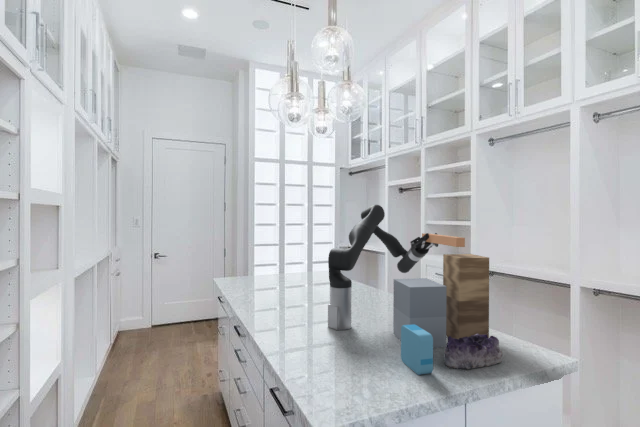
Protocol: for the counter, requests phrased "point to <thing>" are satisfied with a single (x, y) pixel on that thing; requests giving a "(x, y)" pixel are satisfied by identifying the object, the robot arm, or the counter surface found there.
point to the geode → (472, 352)
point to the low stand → (420, 307)
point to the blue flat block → (417, 349)
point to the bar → (446, 240)
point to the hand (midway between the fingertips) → (432, 235)
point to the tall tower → (466, 294)
